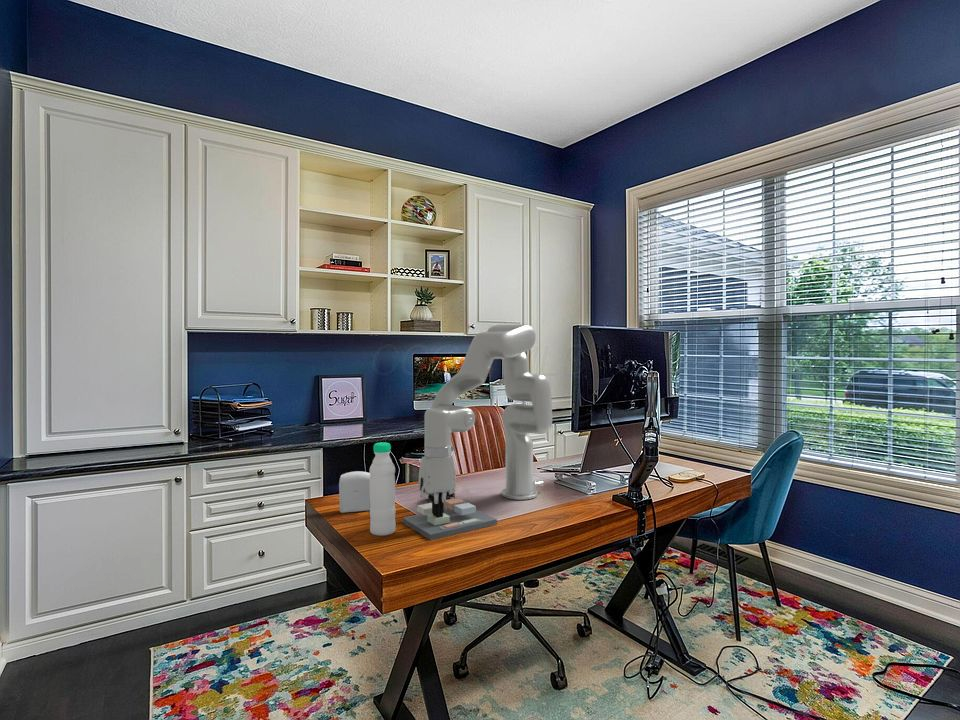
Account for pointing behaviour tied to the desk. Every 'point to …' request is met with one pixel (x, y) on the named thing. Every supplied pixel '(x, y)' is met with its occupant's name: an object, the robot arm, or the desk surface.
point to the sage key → (438, 519)
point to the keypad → (449, 524)
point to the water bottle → (382, 491)
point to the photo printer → (354, 492)
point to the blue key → (464, 508)
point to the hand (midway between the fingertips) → (437, 515)
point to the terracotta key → (453, 503)
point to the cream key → (425, 509)
